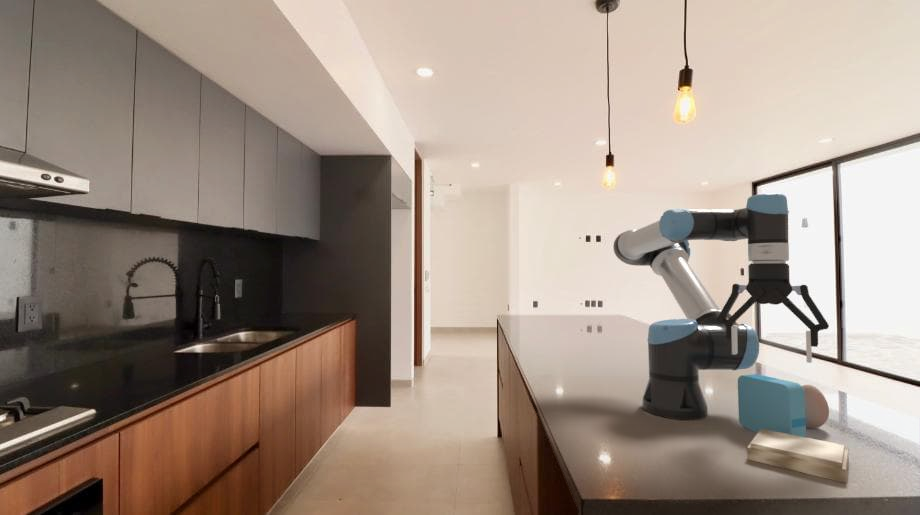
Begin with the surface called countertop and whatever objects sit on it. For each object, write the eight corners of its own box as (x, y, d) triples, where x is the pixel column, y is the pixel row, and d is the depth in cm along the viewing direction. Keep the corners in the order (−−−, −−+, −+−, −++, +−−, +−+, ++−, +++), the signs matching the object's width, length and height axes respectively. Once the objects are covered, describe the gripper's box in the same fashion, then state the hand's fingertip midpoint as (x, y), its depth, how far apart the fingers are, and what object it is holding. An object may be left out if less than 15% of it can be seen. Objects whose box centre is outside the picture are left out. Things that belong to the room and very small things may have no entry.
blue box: (807, 442, 91) (804, 384, 91) (791, 444, 89) (789, 385, 90) (753, 424, 102) (751, 372, 103) (738, 426, 101) (736, 373, 102)
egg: (835, 434, 95) (834, 389, 96) (799, 430, 98) (797, 387, 98) (821, 424, 102) (819, 382, 102) (787, 421, 104) (785, 380, 105)
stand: (747, 459, 82) (747, 443, 82) (758, 442, 91) (758, 427, 91) (846, 483, 72) (845, 464, 73) (848, 461, 81) (848, 445, 81)
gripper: (702, 263, 103) (703, 352, 102) (841, 261, 87) (845, 368, 86) (709, 263, 109) (710, 348, 108) (841, 262, 92) (844, 362, 92)
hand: (770, 357), depth 97 cm, fingers open, 13 cm apart
